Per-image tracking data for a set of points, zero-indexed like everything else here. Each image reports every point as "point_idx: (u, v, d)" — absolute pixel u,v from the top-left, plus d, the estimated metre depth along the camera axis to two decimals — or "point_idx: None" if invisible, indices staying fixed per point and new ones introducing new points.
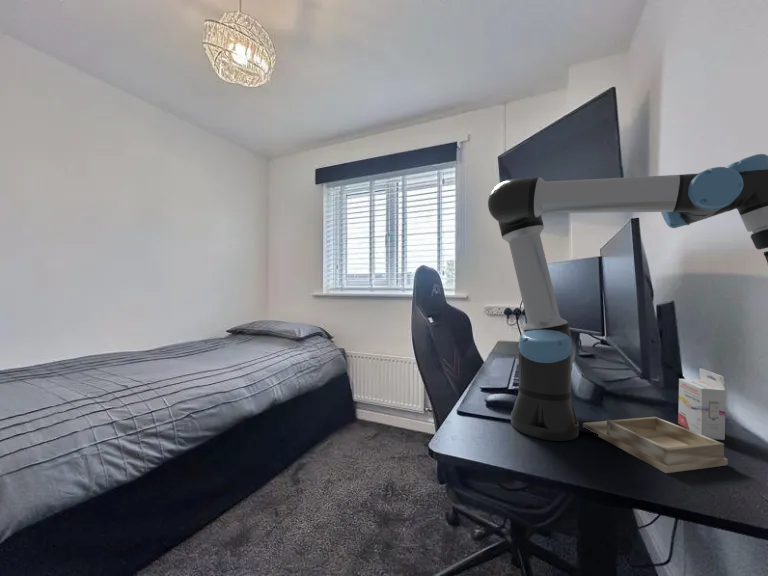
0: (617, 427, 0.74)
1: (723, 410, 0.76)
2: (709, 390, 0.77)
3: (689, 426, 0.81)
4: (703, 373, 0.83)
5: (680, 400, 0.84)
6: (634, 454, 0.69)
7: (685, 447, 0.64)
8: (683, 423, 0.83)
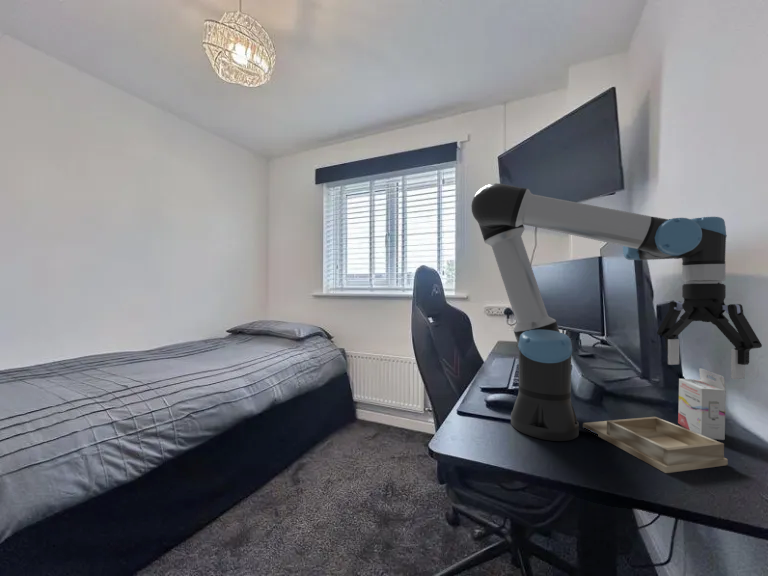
0: (617, 427, 0.74)
1: (723, 410, 0.76)
2: (709, 390, 0.77)
3: (689, 426, 0.81)
4: (703, 373, 0.83)
5: (680, 400, 0.84)
6: (634, 454, 0.69)
7: (685, 447, 0.64)
8: (683, 423, 0.83)
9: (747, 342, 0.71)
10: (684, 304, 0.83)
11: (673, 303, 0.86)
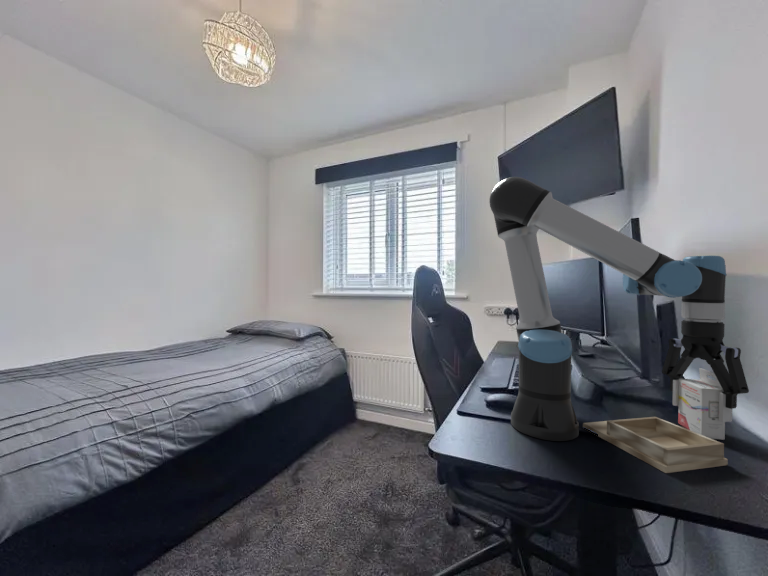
0: (617, 427, 0.74)
1: None
2: (709, 389, 0.77)
3: (689, 426, 0.81)
4: (703, 372, 0.83)
5: (680, 400, 0.84)
6: (634, 454, 0.69)
7: (685, 447, 0.64)
8: (683, 423, 0.83)
9: (735, 387, 0.73)
10: (682, 340, 0.84)
11: (672, 340, 0.86)
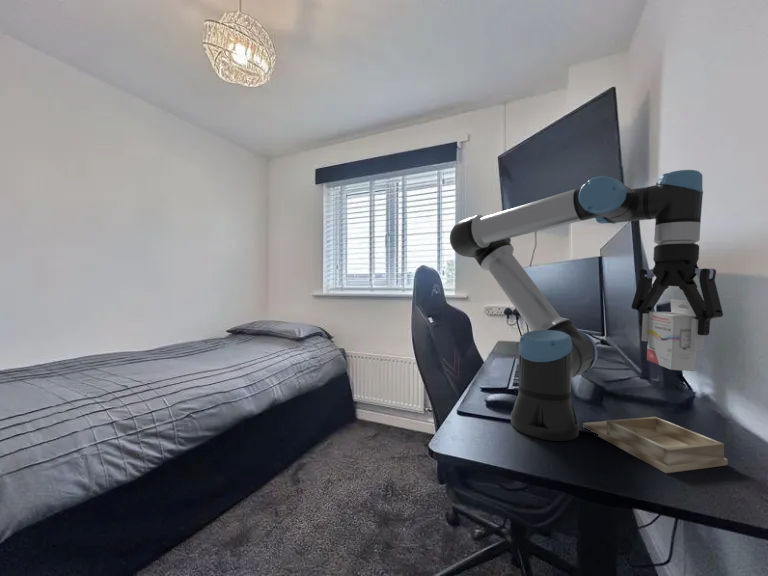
0: (617, 427, 0.74)
1: None
2: (681, 316, 0.70)
3: (658, 360, 0.75)
4: (674, 303, 0.76)
5: (650, 334, 0.78)
6: (634, 454, 0.69)
7: (685, 447, 0.64)
8: (652, 358, 0.77)
9: (709, 310, 0.66)
10: (654, 269, 0.77)
11: (643, 270, 0.79)
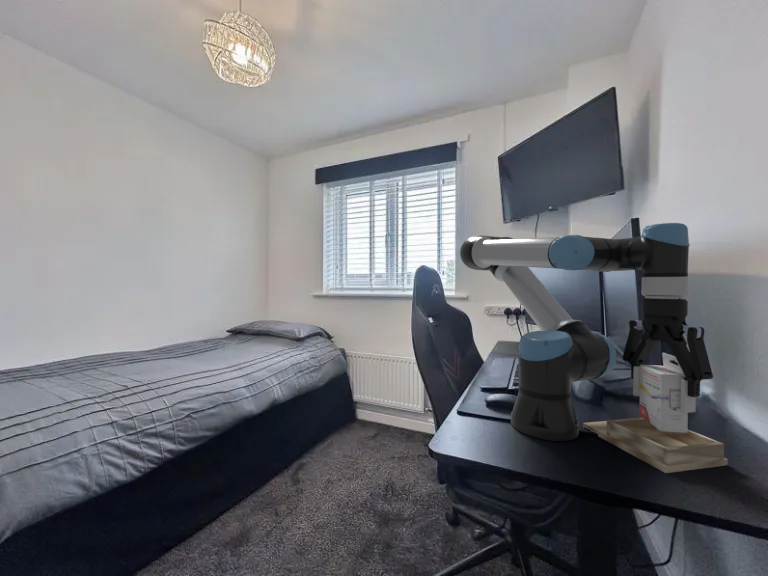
0: (617, 427, 0.74)
1: None
2: (670, 375, 0.67)
3: (650, 418, 0.71)
4: (666, 357, 0.73)
5: (641, 389, 0.75)
6: (634, 454, 0.69)
7: (685, 447, 0.64)
8: (644, 415, 0.74)
9: (698, 372, 0.63)
10: (643, 321, 0.74)
11: (632, 322, 0.76)
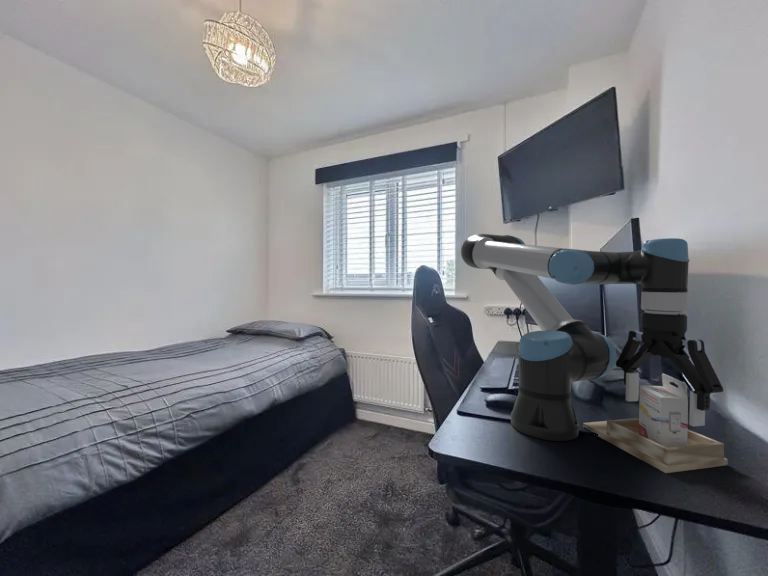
0: (617, 427, 0.74)
1: (685, 422, 0.66)
2: (670, 398, 0.67)
3: None
4: (665, 379, 0.73)
5: (641, 409, 0.75)
6: (634, 454, 0.69)
7: (685, 447, 0.64)
8: (643, 436, 0.74)
9: (707, 385, 0.62)
10: (643, 335, 0.74)
11: (632, 333, 0.76)
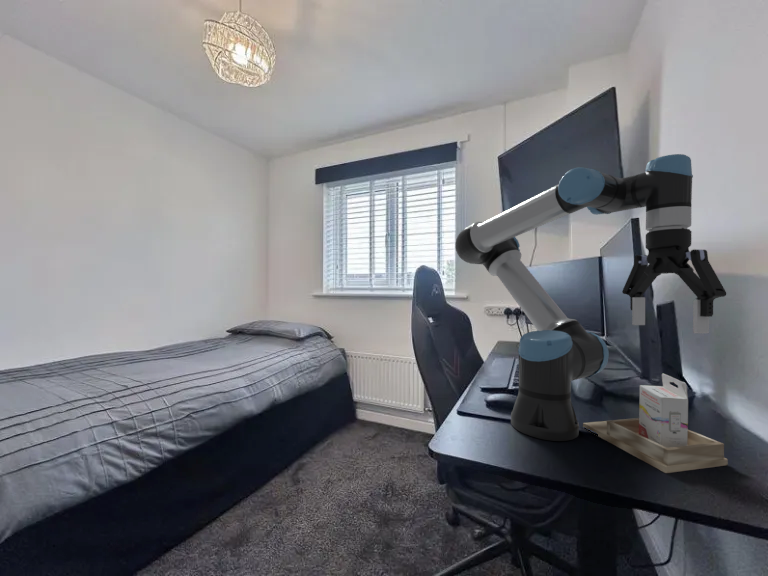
0: (617, 427, 0.74)
1: (685, 422, 0.66)
2: (670, 398, 0.67)
3: None
4: (665, 379, 0.73)
5: (641, 409, 0.75)
6: (634, 454, 0.69)
7: (685, 447, 0.64)
8: (643, 436, 0.74)
9: (709, 290, 0.63)
10: (648, 256, 0.75)
11: (638, 257, 0.77)
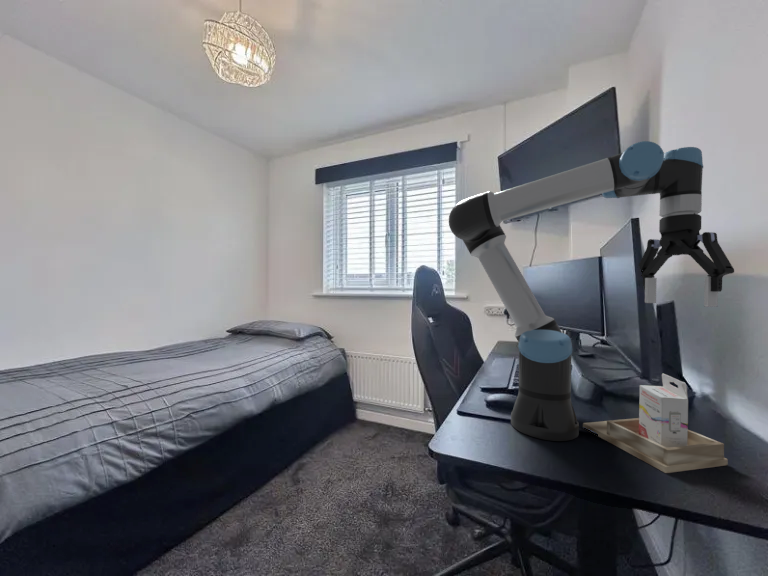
0: (617, 427, 0.74)
1: (685, 422, 0.66)
2: (670, 398, 0.67)
3: None
4: (665, 379, 0.73)
5: (641, 409, 0.75)
6: (634, 454, 0.69)
7: (685, 447, 0.64)
8: (643, 436, 0.74)
9: (720, 267, 0.71)
10: (661, 240, 0.83)
11: (651, 240, 0.85)
